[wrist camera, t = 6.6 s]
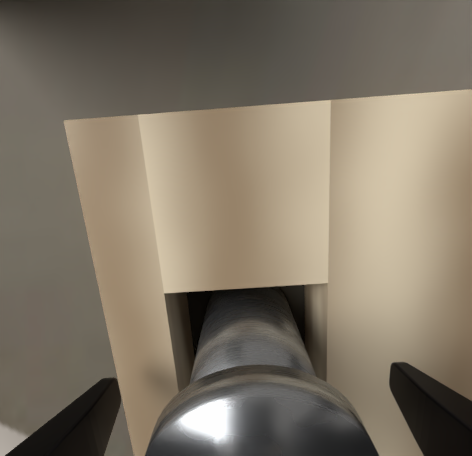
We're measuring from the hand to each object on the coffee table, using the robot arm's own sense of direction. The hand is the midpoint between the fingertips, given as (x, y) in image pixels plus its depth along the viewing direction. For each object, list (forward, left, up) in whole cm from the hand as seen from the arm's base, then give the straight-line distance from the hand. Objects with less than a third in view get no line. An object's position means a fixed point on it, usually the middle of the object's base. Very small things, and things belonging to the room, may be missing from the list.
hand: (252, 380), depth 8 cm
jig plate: (-4, -1, -4) cm, 6 cm away
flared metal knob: (0, 0, -4) cm, 4 cm away
